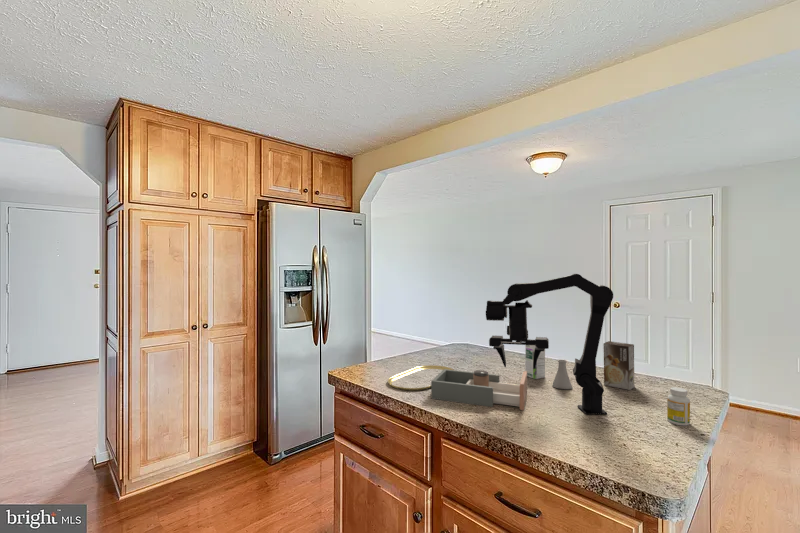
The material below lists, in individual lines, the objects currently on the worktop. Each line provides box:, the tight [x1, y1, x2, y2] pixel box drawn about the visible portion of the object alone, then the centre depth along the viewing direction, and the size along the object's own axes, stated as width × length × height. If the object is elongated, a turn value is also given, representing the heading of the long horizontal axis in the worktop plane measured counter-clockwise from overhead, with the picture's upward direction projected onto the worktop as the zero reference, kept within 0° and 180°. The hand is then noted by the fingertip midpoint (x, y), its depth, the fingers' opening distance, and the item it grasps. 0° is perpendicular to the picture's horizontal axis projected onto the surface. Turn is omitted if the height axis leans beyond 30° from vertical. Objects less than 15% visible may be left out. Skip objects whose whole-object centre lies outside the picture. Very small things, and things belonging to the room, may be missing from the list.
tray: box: [466, 370, 528, 411], centre depth 131 cm, size 20×16×8 cm
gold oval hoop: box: [387, 364, 455, 392], centre depth 154 cm, size 19×35×2 cm, turn 145°
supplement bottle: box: [666, 386, 691, 427], centre depth 111 cm, size 5×5×10 cm
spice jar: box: [473, 369, 489, 387], centre depth 132 cm, size 5×5×7 cm
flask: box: [551, 359, 573, 390], centre depth 143 cm, size 7×7×10 cm
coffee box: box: [602, 340, 636, 391], centre depth 145 cm, size 9×6×16 cm
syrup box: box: [524, 345, 546, 380], centre depth 157 cm, size 6×6×14 cm
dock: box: [430, 369, 500, 408], centre depth 134 cm, size 21×16×6 cm
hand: (519, 367), depth 128 cm, fingers open, 9 cm apart
